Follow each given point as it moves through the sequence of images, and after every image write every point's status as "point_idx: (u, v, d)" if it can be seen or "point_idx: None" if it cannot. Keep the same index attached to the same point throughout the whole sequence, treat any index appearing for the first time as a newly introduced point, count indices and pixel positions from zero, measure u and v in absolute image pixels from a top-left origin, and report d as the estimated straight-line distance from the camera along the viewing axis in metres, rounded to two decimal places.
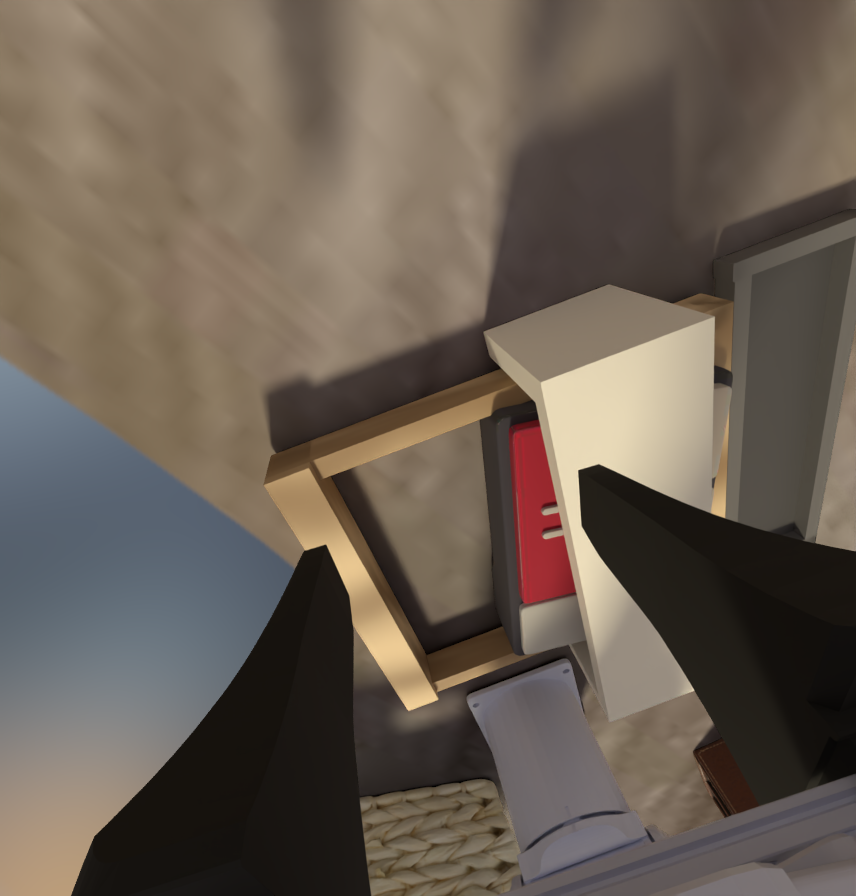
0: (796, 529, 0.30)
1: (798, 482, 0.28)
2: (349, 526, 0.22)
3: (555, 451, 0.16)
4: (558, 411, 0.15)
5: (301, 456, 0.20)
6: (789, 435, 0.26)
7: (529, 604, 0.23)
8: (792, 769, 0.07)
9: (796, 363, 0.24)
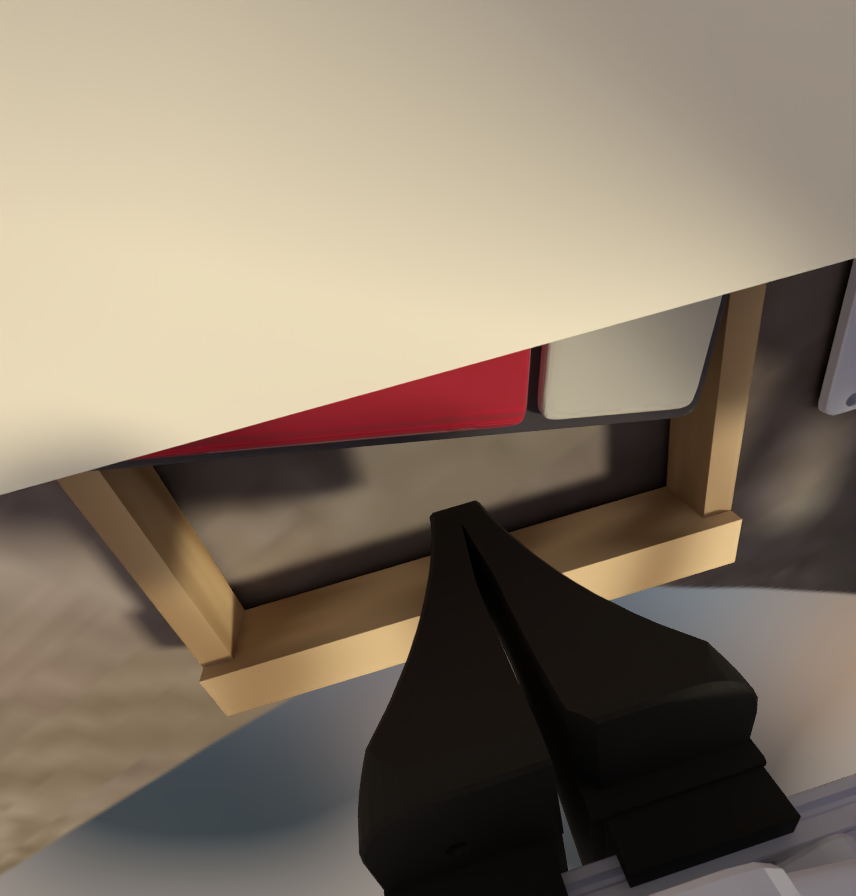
0: None
1: None
2: (333, 613, 0.15)
3: None
4: None
5: None
6: None
7: (541, 399, 0.10)
8: (584, 839, 0.07)
9: None
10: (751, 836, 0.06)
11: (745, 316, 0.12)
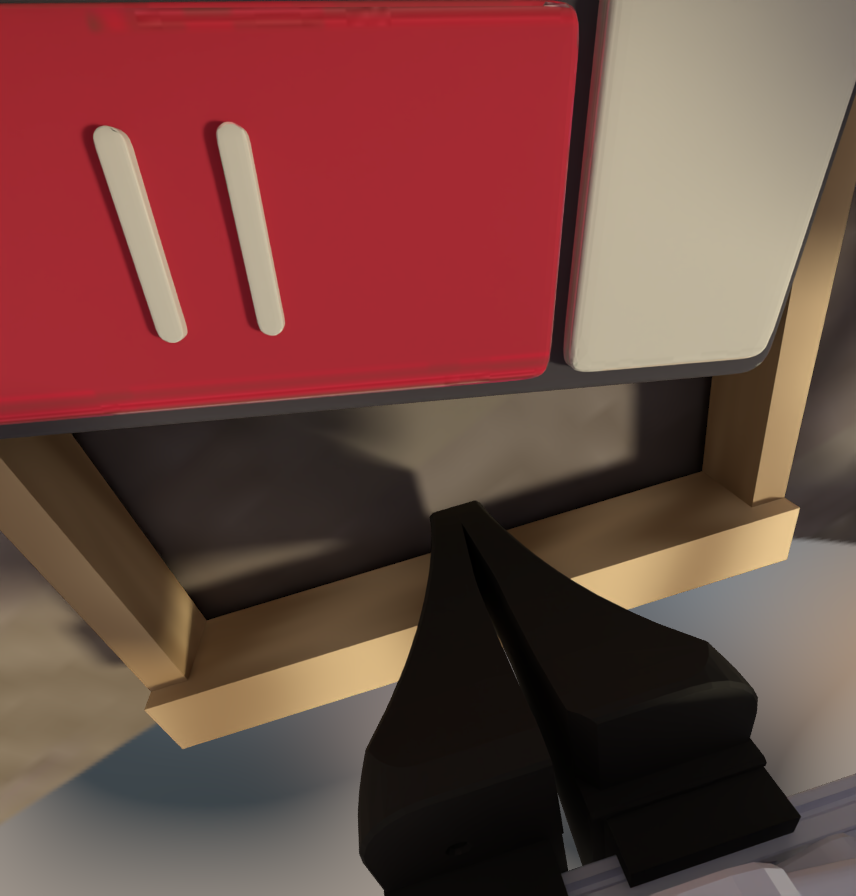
0: None
1: None
2: (310, 624, 0.13)
3: None
4: None
5: None
6: None
7: (568, 343, 0.08)
8: (584, 839, 0.07)
9: None
10: (751, 836, 0.06)
11: (821, 247, 0.09)
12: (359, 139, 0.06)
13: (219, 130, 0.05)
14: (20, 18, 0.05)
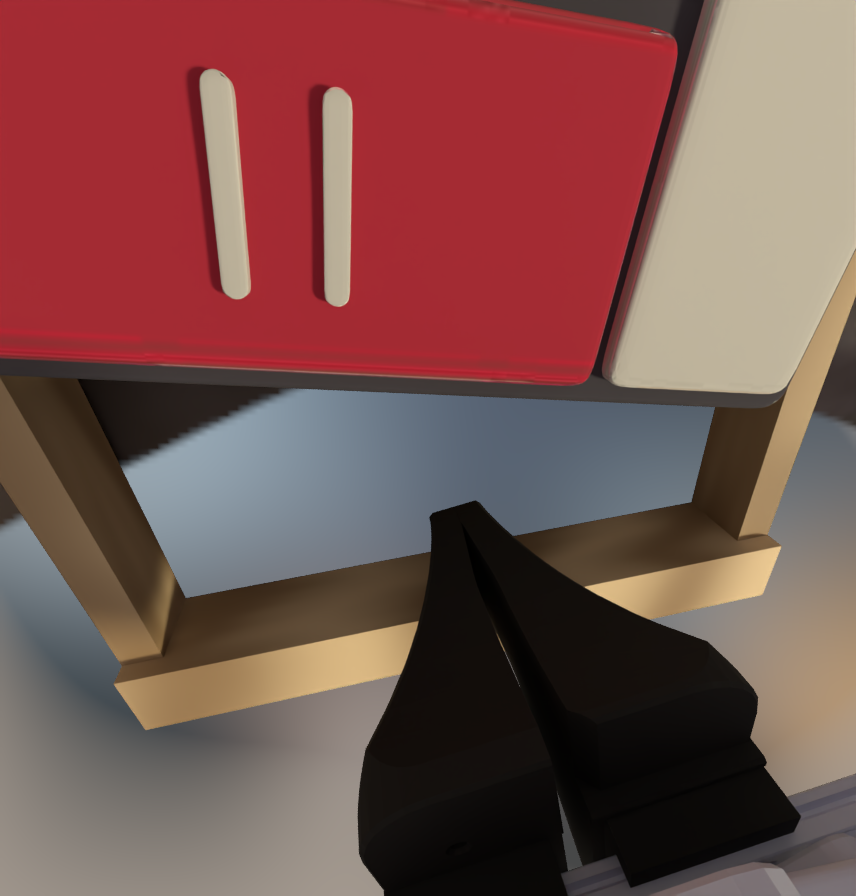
0: None
1: None
2: (297, 612, 0.12)
3: None
4: None
5: None
6: None
7: (610, 357, 0.08)
8: (584, 838, 0.07)
9: None
10: (751, 836, 0.06)
11: (835, 303, 0.10)
12: (458, 127, 0.06)
13: (326, 94, 0.05)
14: None
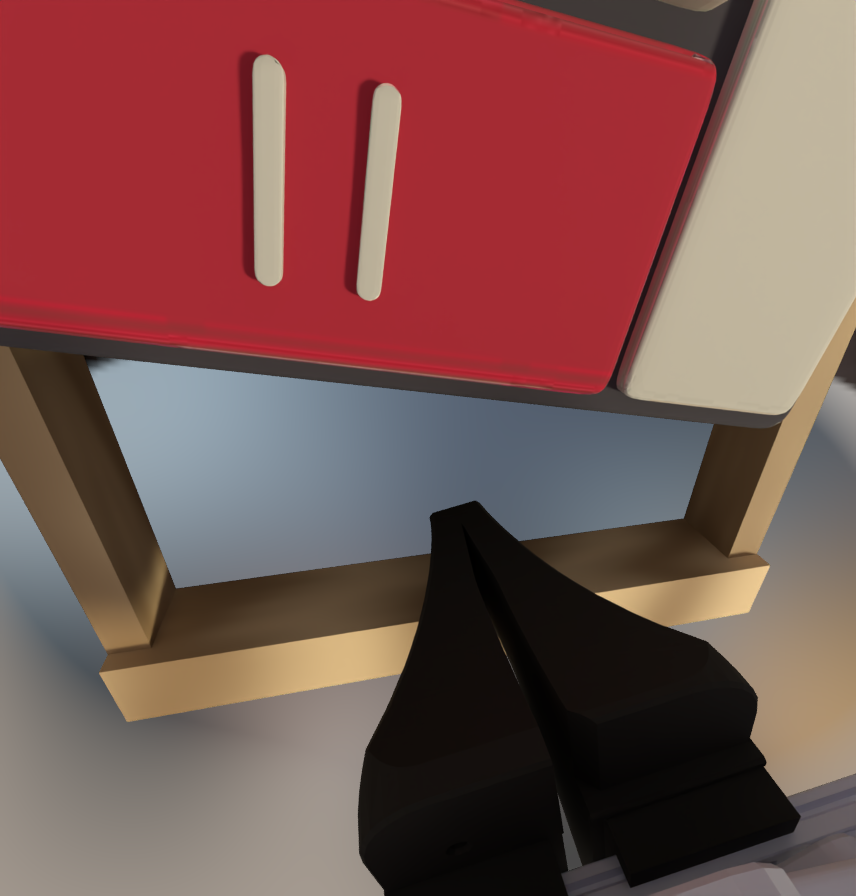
0: None
1: None
2: (290, 607, 0.12)
3: None
4: None
5: None
6: None
7: (626, 369, 0.08)
8: (585, 839, 0.07)
9: None
10: (751, 836, 0.06)
11: (836, 332, 0.10)
12: (501, 131, 0.06)
13: (377, 89, 0.05)
14: None
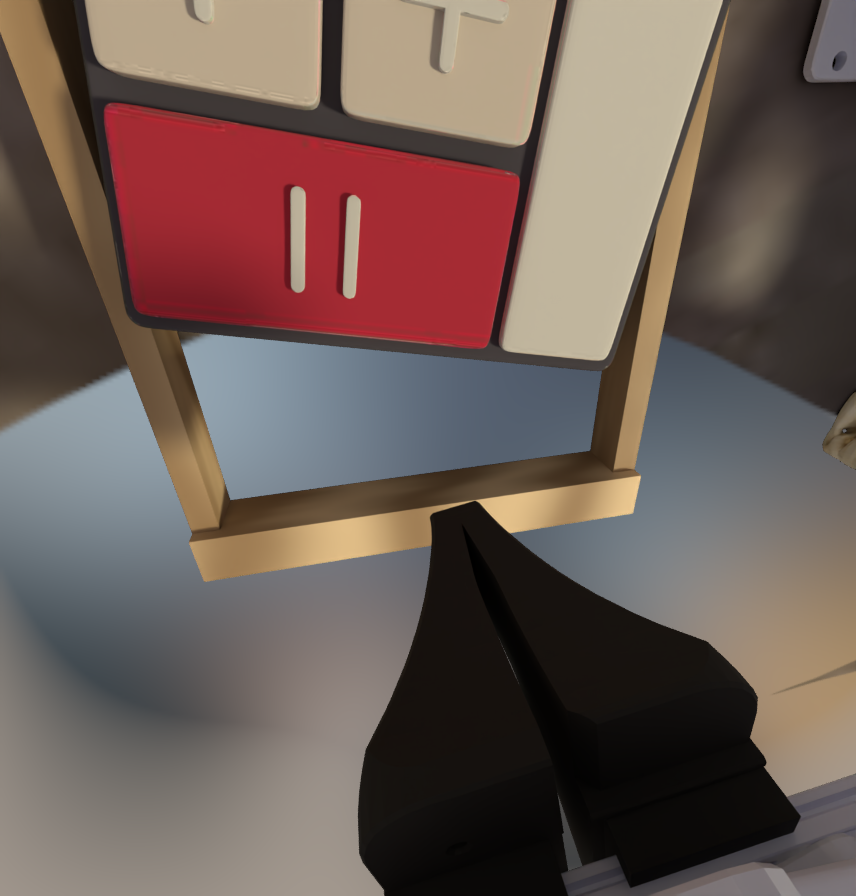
0: None
1: None
2: (309, 507, 0.18)
3: None
4: None
5: None
6: None
7: (501, 334, 0.14)
8: (584, 839, 0.07)
9: None
10: (751, 836, 0.06)
11: (655, 310, 0.16)
12: (412, 212, 0.12)
13: (349, 198, 0.11)
14: (273, 136, 0.11)
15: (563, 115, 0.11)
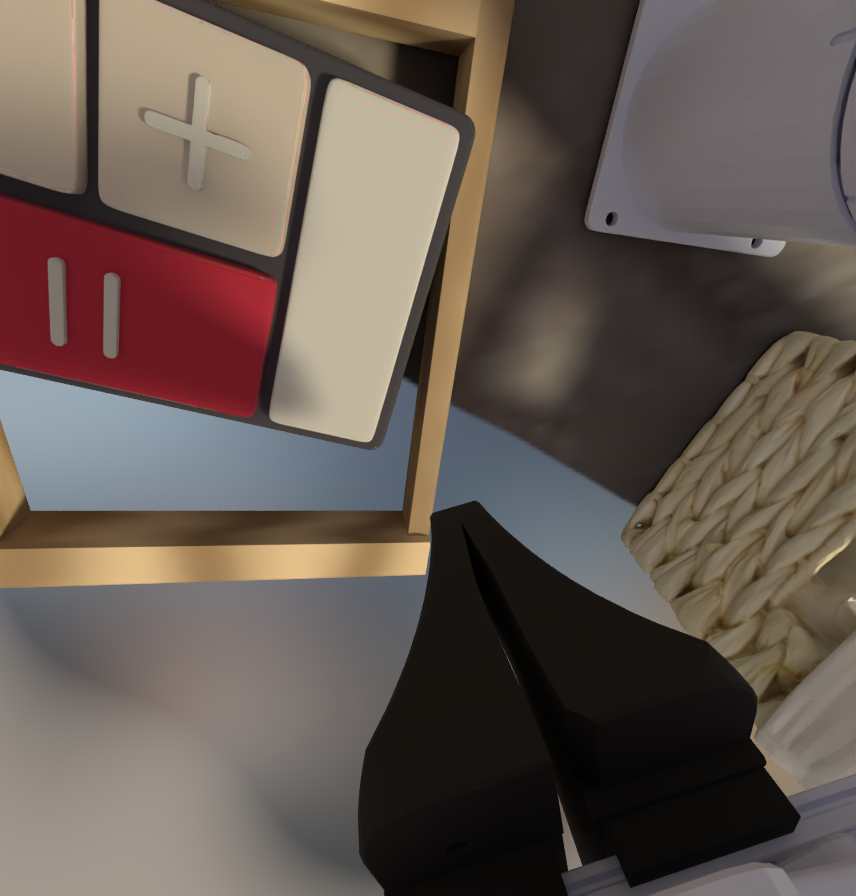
0: None
1: None
2: (103, 530, 0.19)
3: None
4: None
5: None
6: None
7: (270, 407, 0.15)
8: (585, 839, 0.07)
9: None
10: (751, 836, 0.06)
11: (438, 402, 0.18)
12: (171, 295, 0.13)
13: (105, 275, 0.13)
14: (32, 212, 0.12)
15: (313, 239, 0.13)
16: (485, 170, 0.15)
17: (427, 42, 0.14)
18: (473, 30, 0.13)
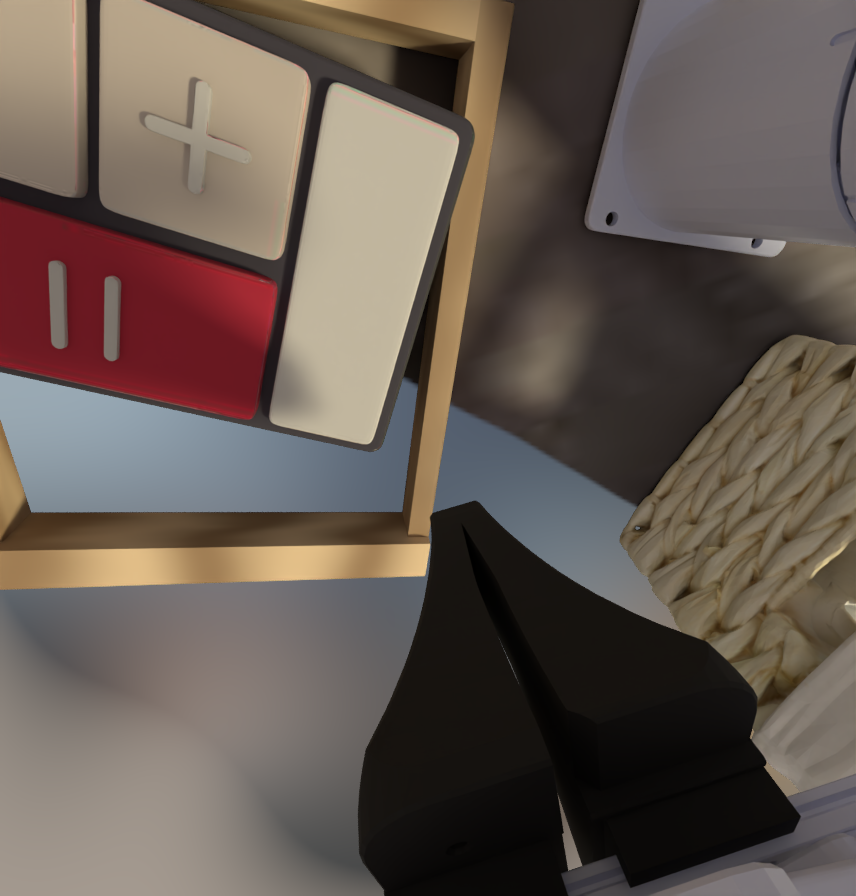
0: None
1: None
2: (104, 531, 0.19)
3: None
4: None
5: None
6: None
7: (270, 409, 0.16)
8: (585, 839, 0.07)
9: None
10: (751, 836, 0.06)
11: (438, 404, 0.18)
12: (171, 298, 0.13)
13: (106, 278, 0.13)
14: (33, 215, 0.12)
15: (313, 242, 0.13)
16: (485, 173, 0.15)
17: (427, 45, 0.14)
18: (472, 34, 0.13)
